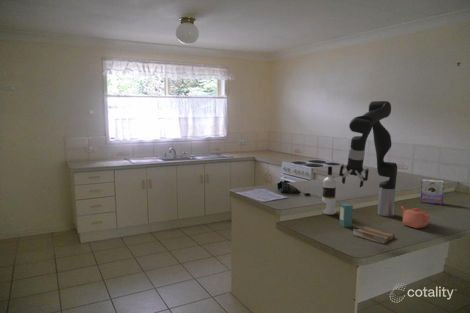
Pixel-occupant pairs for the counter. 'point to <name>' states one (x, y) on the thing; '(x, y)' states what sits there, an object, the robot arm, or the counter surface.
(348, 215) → the tea box
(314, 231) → the counter surface
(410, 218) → the teapot
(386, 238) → the shelf
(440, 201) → the candy box
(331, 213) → the vodka
